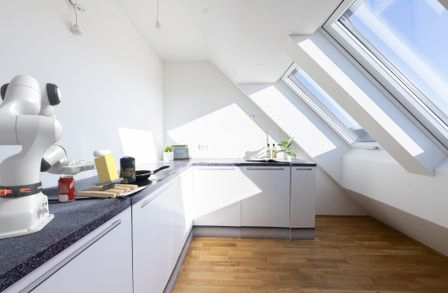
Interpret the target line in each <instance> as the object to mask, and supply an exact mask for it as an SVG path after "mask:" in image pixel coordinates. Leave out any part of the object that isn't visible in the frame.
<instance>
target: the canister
mask: <svg viewBox="0 0 448 293" xmlns="http://www.w3.org/2000/svg"><path fill="white" fill-rule="evenodd" d="M119 178H123V180H120V183H121V184H133V183H135V182H136V178H137V177H136V158H135V157H134V156H130V155H129V156H128V155H125V156H123V157H121V158H119Z"/></svg>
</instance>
